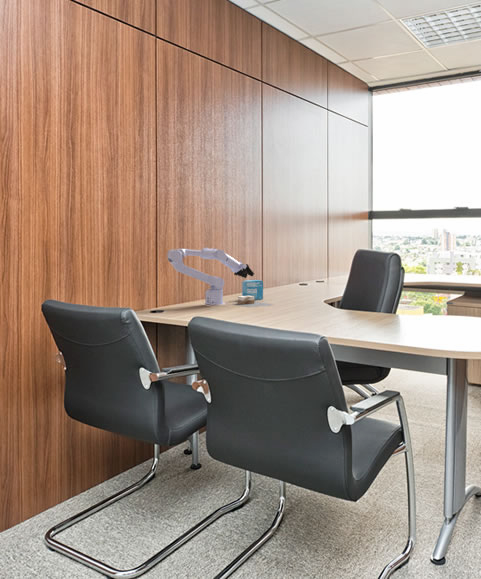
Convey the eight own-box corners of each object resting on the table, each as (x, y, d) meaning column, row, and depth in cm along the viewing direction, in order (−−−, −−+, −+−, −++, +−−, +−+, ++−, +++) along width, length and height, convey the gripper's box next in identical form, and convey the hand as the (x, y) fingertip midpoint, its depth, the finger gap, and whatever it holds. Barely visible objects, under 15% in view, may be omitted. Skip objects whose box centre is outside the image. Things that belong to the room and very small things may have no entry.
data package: (245, 301, 324) (245, 281, 323) (242, 300, 328) (242, 280, 327) (263, 300, 330) (263, 280, 329) (259, 299, 334) (259, 279, 333)
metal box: (242, 304, 306) (242, 297, 306) (237, 303, 310) (237, 296, 310) (254, 303, 311) (254, 296, 310) (249, 302, 315) (249, 295, 314)
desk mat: (248, 308, 295) (248, 307, 295) (230, 304, 309) (230, 303, 309) (274, 305, 305) (274, 304, 305) (256, 302, 319) (256, 301, 319)
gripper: (240, 255, 306) (259, 268, 311) (228, 259, 318) (246, 271, 323) (235, 265, 304) (254, 278, 308) (223, 269, 316) (241, 281, 321)
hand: (249, 275), depth 316 cm, fingers open, 7 cm apart
